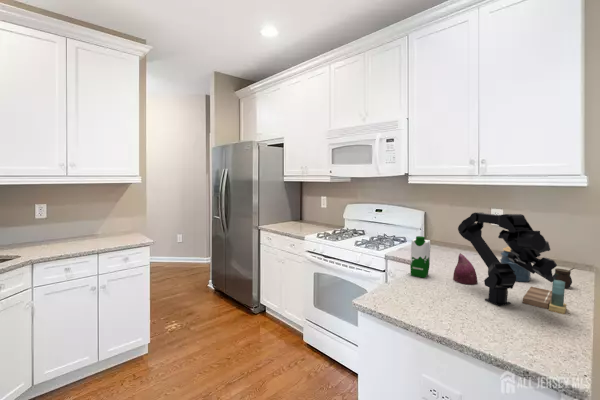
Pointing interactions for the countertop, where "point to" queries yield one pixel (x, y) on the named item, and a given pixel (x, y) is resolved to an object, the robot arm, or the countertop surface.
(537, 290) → the board
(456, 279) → the vegetable
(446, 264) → the countertop surface
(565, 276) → the mate gourd
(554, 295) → the teal column with base
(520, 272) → the canister
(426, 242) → the milk carton
